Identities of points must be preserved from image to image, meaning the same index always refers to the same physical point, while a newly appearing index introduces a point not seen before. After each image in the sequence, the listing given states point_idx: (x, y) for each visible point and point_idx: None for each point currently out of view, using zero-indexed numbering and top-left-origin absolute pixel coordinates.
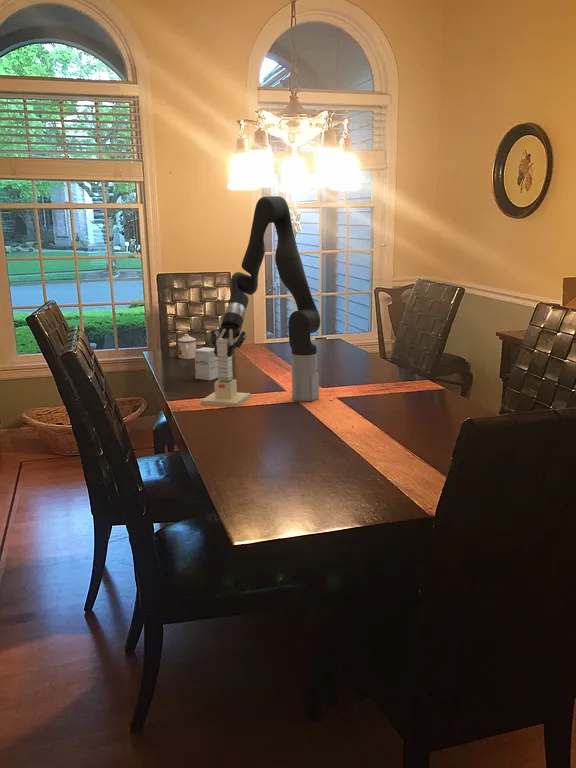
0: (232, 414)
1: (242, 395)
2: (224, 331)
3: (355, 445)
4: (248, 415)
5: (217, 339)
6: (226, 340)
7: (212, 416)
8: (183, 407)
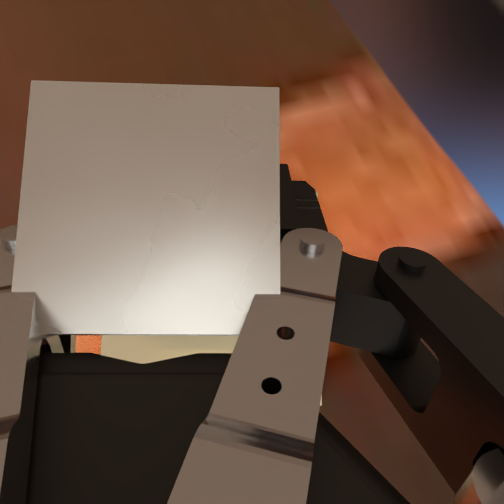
0: (95, 79)
1: (129, 344)
2: (203, 465)
3: None
4: (15, 80)
5: (263, 101)
6: (43, 84)
7: (175, 32)
8: (371, 131)
